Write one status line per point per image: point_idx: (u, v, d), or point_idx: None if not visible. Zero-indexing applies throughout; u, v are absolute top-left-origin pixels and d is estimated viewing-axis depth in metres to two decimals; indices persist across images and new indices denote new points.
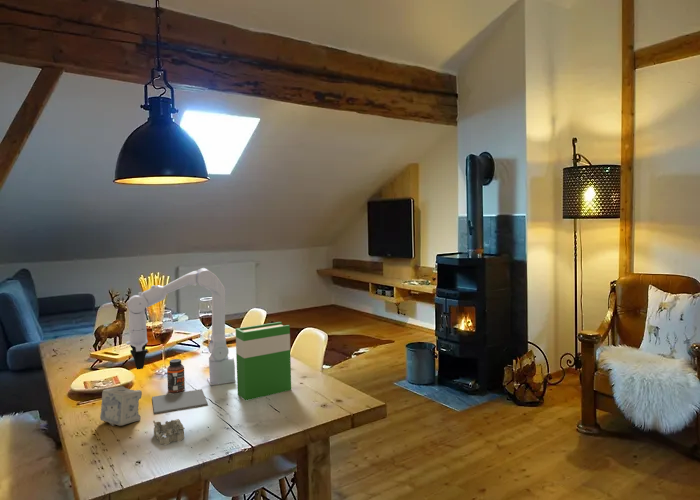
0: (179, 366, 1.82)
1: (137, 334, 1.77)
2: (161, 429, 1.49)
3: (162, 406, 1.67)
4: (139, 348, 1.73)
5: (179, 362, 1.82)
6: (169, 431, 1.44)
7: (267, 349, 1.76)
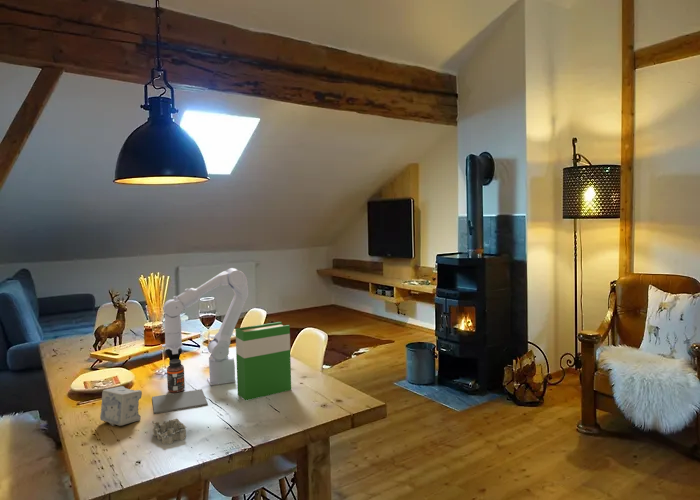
0: (179, 367, 1.81)
1: (173, 337, 1.81)
2: (159, 429, 1.49)
3: (162, 406, 1.67)
4: (175, 351, 1.78)
5: (179, 363, 1.81)
6: (171, 430, 1.44)
7: (267, 349, 1.76)
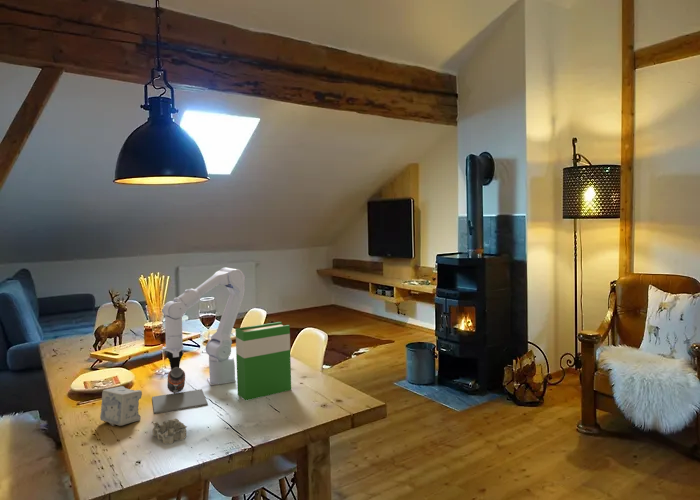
0: (180, 378, 1.75)
1: (174, 340, 1.77)
2: (159, 430, 1.49)
3: (162, 406, 1.67)
4: (176, 354, 1.73)
5: (181, 376, 1.74)
6: (171, 430, 1.44)
7: (267, 349, 1.76)
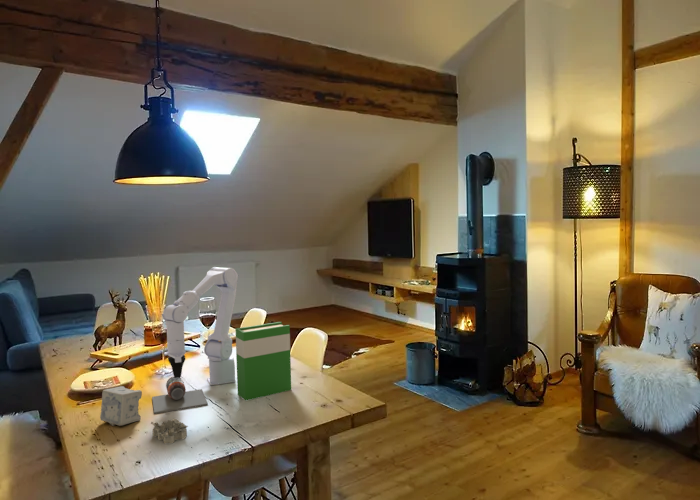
0: (181, 395, 1.73)
1: (176, 344, 1.72)
2: None
3: (162, 406, 1.67)
4: (178, 359, 1.69)
5: None
6: (172, 430, 1.45)
7: (267, 349, 1.76)
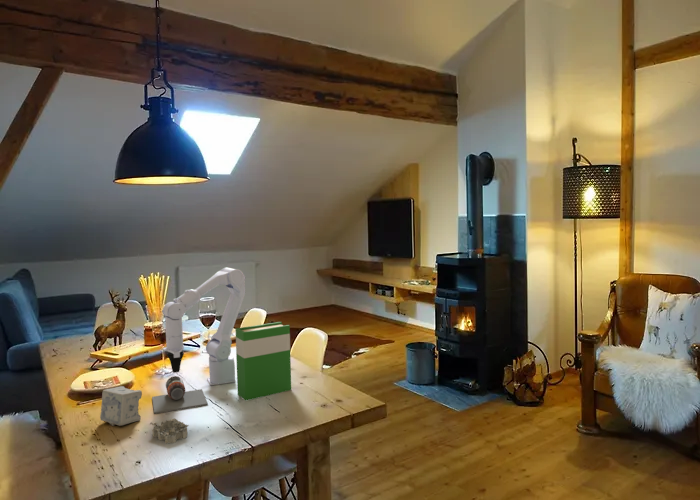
0: (181, 395, 1.73)
1: (174, 340, 1.78)
2: None
3: (162, 406, 1.67)
4: (177, 354, 1.74)
5: (182, 395, 1.71)
6: (172, 430, 1.45)
7: (267, 349, 1.76)
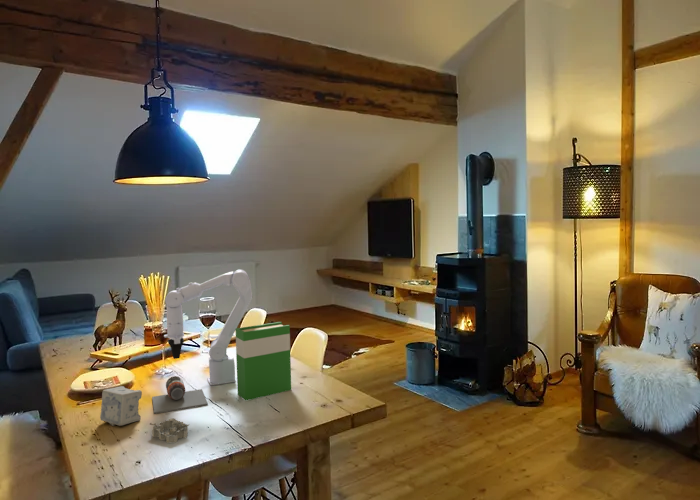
0: (181, 395, 1.73)
1: (175, 327, 1.85)
2: None
3: (162, 406, 1.67)
4: (177, 341, 1.81)
5: (182, 395, 1.71)
6: (173, 429, 1.45)
7: (267, 349, 1.76)
